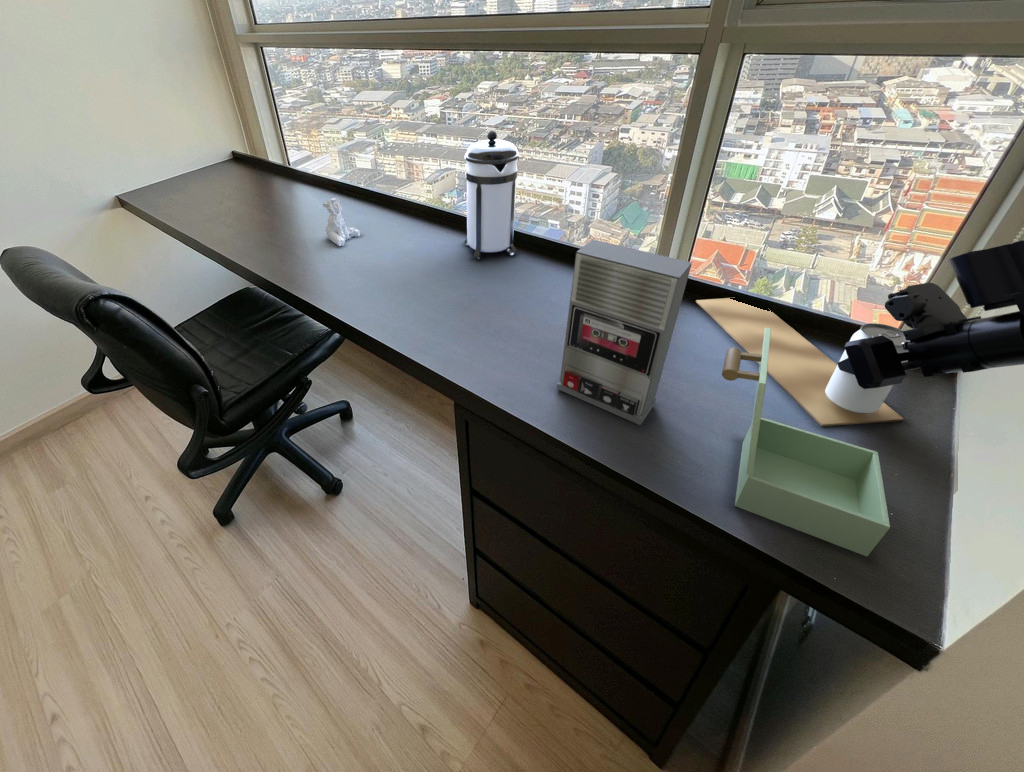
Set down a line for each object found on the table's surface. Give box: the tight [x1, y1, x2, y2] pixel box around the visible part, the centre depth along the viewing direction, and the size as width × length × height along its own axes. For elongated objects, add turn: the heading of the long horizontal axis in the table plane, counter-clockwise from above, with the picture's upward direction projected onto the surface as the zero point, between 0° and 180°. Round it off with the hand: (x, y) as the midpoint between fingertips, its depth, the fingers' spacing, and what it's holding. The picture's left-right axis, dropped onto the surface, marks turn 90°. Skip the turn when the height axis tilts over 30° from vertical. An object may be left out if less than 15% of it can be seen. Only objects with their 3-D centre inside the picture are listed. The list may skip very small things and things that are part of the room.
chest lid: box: [721, 328, 771, 476], centre depth 59 cm, size 14×12×4 cm
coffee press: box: [464, 130, 520, 261], centre depth 121 cm, size 17×16×30 cm
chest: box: [734, 416, 891, 557], centre depth 60 cm, size 13×12×6 cm
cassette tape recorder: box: [556, 239, 693, 426], centre depth 71 cm, size 14×6×25 cm, turn 49°
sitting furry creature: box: [322, 197, 361, 247], centre depth 136 cm, size 10×9×12 cm
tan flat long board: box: [695, 297, 905, 427], centre depth 85 cm, size 36×12×1 cm, turn 2°
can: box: [825, 322, 908, 414], centre depth 69 cm, size 6×6×12 cm
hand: (858, 362), depth 70 cm, fingers closed on can, 6 cm apart
